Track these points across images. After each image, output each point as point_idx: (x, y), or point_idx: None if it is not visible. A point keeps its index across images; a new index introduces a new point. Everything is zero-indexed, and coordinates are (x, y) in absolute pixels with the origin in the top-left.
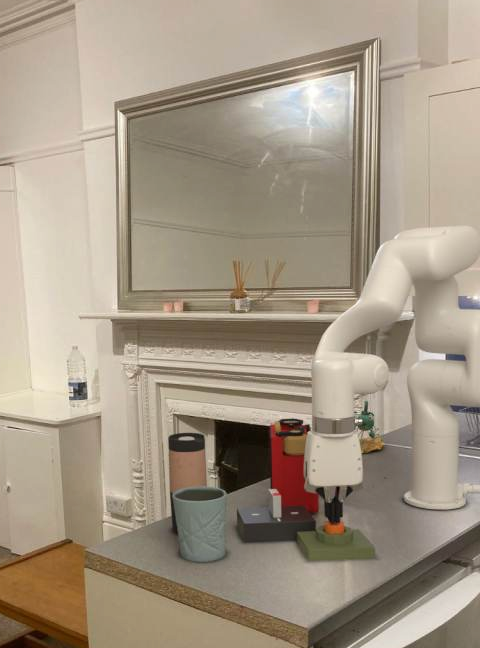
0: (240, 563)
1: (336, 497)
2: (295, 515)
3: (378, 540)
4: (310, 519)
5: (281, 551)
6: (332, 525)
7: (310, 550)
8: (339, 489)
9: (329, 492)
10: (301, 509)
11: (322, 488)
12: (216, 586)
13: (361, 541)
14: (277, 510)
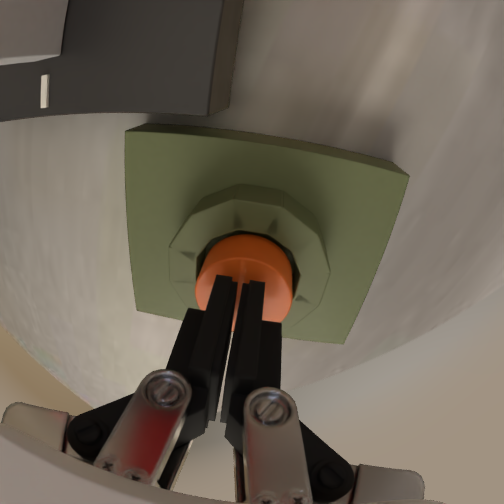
0: (14, 250)
1: (229, 438)
2: (130, 17)
3: (447, 189)
4: (184, 93)
5: (86, 196)
6: None
7: (142, 309)
8: (236, 499)
9: (167, 475)
10: None
11: (122, 447)
12: (11, 323)
13: (335, 300)
14: (22, 60)
